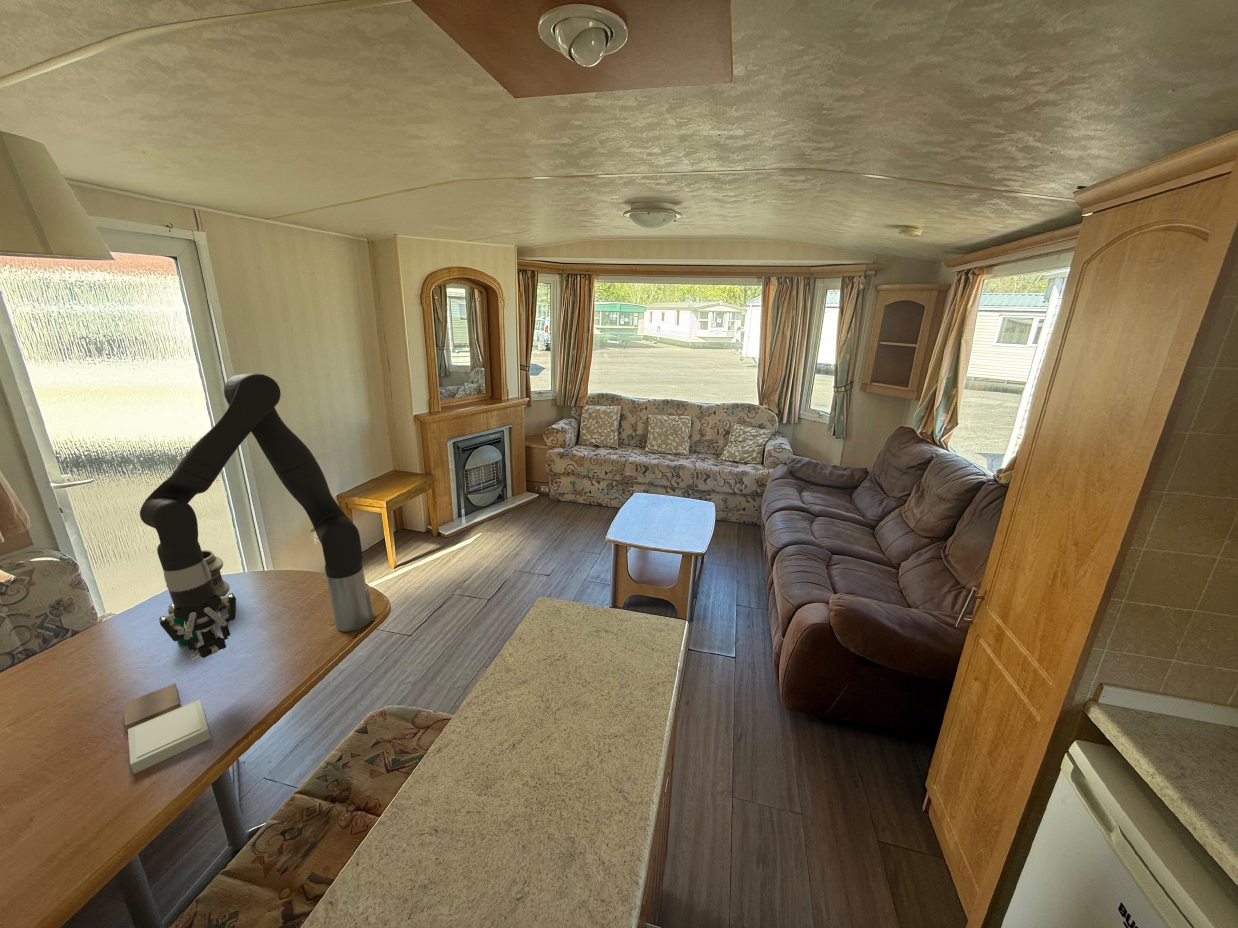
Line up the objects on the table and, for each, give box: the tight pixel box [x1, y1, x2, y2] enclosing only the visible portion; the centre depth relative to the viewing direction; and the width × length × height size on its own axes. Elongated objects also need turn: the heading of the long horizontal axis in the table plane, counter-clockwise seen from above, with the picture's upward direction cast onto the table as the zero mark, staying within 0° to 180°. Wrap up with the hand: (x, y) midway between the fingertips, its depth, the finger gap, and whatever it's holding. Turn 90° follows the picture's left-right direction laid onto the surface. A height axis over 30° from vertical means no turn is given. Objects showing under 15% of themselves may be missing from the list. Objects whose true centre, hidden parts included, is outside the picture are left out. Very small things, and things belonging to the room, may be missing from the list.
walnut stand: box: [123, 683, 182, 734], centre depth 112 cm, size 9×9×2 cm
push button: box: [190, 616, 227, 661], centre depth 114 cm, size 7×5×10 cm
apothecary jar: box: [201, 549, 230, 613], centre depth 148 cm, size 12×12×18 cm
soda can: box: [167, 602, 201, 647], centre depth 134 cm, size 5×5×12 cm
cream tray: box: [127, 698, 212, 775], centre depth 105 cm, size 12×12×3 cm
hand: (210, 643), depth 116 cm, fingers closed on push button, 5 cm apart
